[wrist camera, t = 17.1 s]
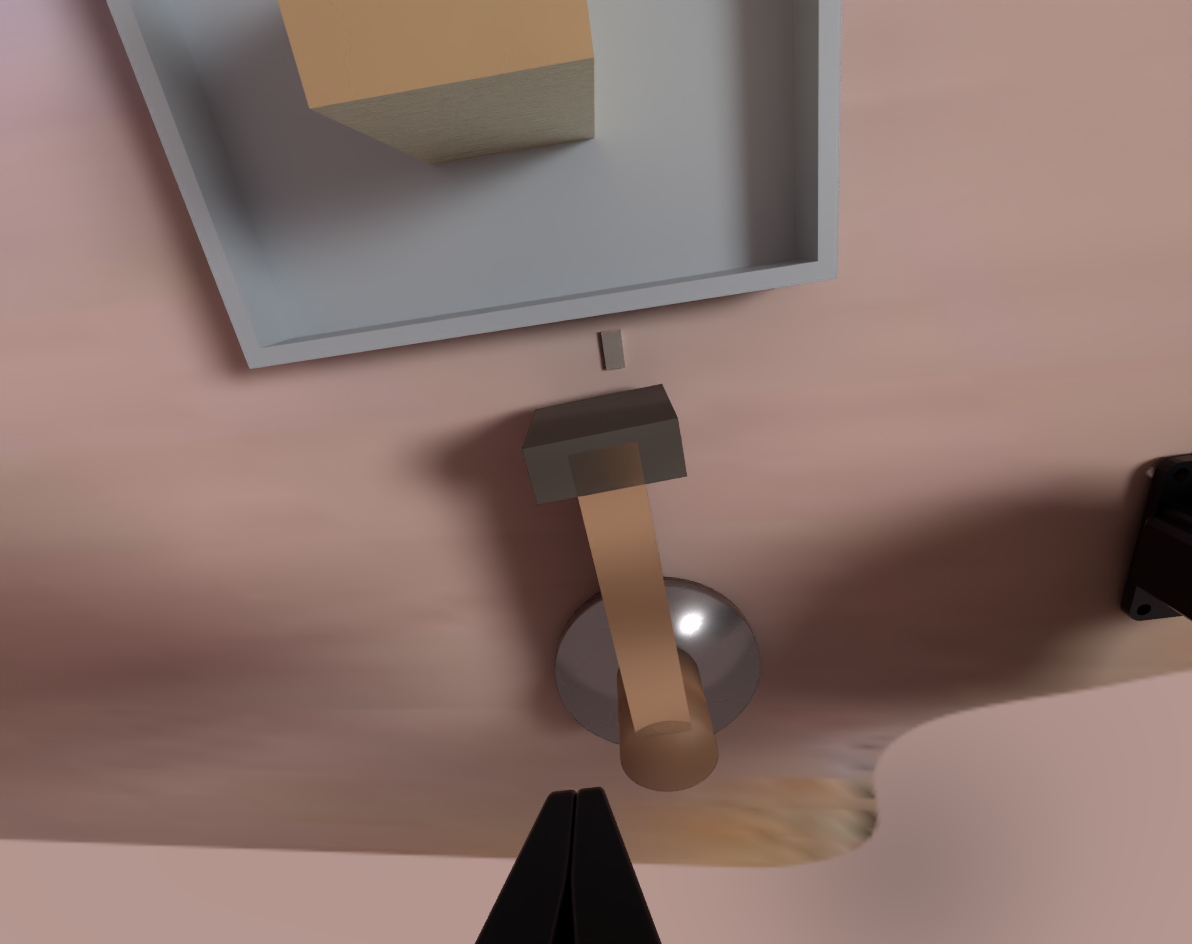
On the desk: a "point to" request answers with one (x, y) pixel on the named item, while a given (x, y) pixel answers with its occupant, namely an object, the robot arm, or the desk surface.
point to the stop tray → (500, 178)
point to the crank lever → (630, 570)
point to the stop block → (448, 72)
